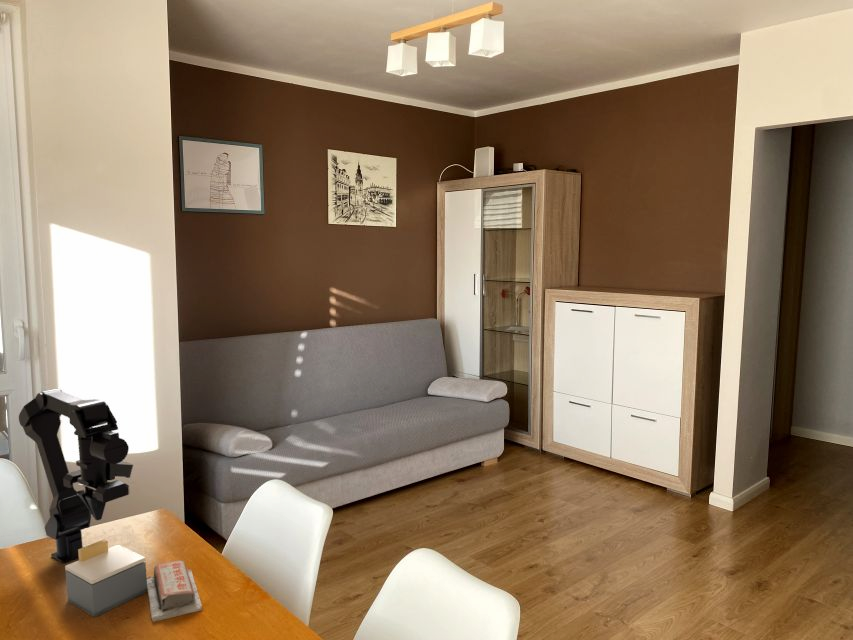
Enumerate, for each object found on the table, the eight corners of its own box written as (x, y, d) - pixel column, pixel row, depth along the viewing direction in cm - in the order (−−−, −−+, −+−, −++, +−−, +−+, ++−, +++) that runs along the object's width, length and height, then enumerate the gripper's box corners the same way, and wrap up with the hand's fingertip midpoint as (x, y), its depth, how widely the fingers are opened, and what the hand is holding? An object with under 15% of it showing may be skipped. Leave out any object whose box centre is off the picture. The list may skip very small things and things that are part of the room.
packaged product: (144, 564, 150) (190, 554, 155) (145, 584, 151) (191, 573, 155) (150, 602, 134) (201, 590, 139) (152, 624, 135) (202, 612, 139)
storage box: (67, 601, 143) (65, 570, 142) (120, 577, 153) (118, 549, 152) (94, 617, 137) (92, 585, 136) (147, 591, 147) (145, 562, 146)
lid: (65, 569, 142) (64, 554, 142) (118, 547, 152) (117, 534, 152) (91, 584, 136) (90, 569, 136) (145, 560, 146) (144, 546, 145)
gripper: (148, 453, 153) (152, 516, 155) (105, 439, 164) (110, 499, 166) (101, 466, 144) (107, 534, 146) (59, 451, 155) (65, 514, 157)
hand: (98, 519), depth 154 cm, fingers closed
